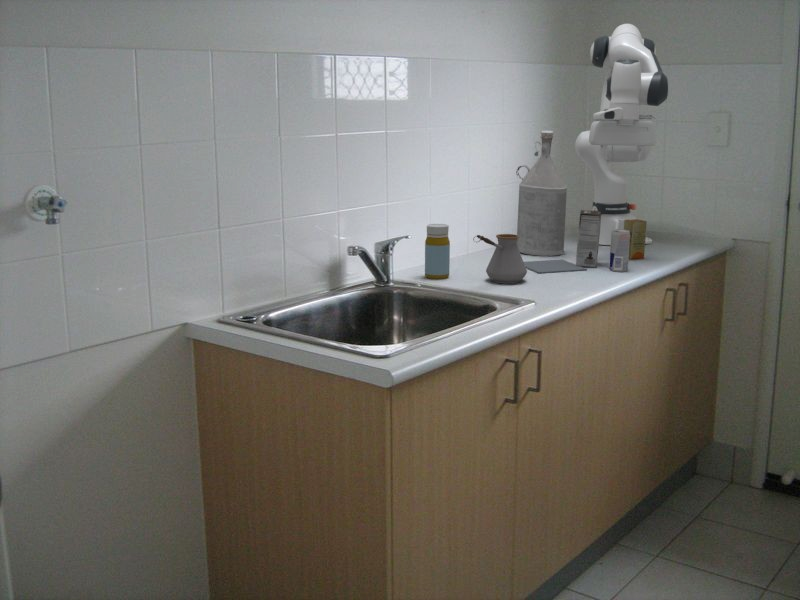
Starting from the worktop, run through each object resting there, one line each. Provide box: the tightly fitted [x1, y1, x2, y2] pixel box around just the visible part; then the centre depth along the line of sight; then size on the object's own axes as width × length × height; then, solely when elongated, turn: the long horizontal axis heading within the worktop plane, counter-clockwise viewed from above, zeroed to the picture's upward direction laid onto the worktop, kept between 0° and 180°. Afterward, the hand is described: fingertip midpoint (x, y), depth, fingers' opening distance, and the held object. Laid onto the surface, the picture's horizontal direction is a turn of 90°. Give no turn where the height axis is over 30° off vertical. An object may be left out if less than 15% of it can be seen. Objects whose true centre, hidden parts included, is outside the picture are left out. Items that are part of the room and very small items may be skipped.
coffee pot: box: [473, 233, 528, 284], centre depth 245 cm, size 21×12×15 cm, turn 141°
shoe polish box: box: [624, 218, 647, 261], centre depth 283 cm, size 5×5×12 cm
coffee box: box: [575, 209, 601, 268], centre depth 271 cm, size 9×6×16 cm
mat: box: [523, 259, 588, 275], centre depth 269 cm, size 16×16×1 cm
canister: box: [516, 130, 568, 257], centre depth 288 cm, size 13×17×40 cm
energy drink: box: [608, 229, 630, 273], centre depth 263 cm, size 5×5×12 cm
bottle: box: [424, 223, 451, 280], centre depth 253 cm, size 7×7×15 cm
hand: (621, 161), depth 269 cm, fingers open, 8 cm apart
